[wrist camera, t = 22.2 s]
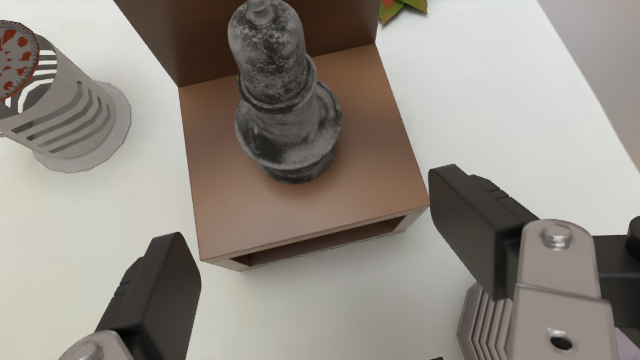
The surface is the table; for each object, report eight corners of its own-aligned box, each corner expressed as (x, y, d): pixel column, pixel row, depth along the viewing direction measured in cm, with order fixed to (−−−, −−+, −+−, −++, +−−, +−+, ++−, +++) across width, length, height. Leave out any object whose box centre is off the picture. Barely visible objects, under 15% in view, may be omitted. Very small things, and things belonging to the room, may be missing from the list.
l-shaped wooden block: (404, 231, 30) (496, 141, 13) (239, 271, 29) (105, 235, 12) (361, 96, 34) (388, -108, 17) (216, 130, 33) (92, -45, 16)
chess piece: (335, 99, 24) (336, -84, 12) (346, 183, 22) (358, 60, 10) (247, 108, 24) (167, -65, 12) (250, 193, 22) (159, 81, 11)
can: (491, 448, 25) (623, 574, 14) (433, 283, 28) (498, 274, 17) (644, 401, 25) (895, 485, 14) (567, 245, 29) (719, 211, 18)
